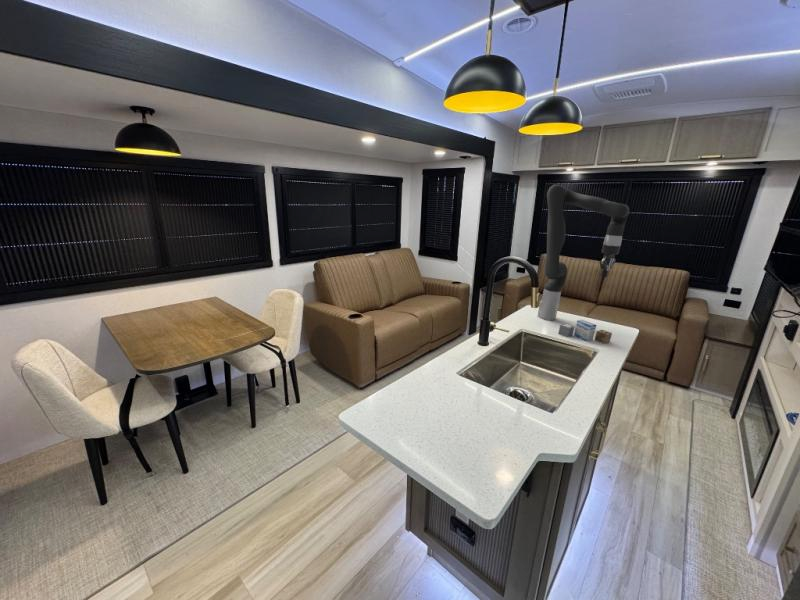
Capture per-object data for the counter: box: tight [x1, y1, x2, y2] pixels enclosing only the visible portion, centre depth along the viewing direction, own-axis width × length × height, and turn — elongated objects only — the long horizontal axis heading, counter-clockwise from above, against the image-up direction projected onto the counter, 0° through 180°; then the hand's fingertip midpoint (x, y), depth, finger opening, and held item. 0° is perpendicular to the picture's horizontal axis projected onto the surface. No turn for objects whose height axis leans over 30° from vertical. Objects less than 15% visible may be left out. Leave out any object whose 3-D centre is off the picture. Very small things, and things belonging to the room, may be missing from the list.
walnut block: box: [594, 329, 613, 345], centre depth 160 cm, size 5×5×5 cm
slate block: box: [558, 323, 576, 338], centre depth 166 cm, size 5×5×5 cm
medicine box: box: [573, 319, 597, 342], centre depth 162 cm, size 8×4×9 cm, turn 25°
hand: (604, 277), depth 169 cm, fingers closed
